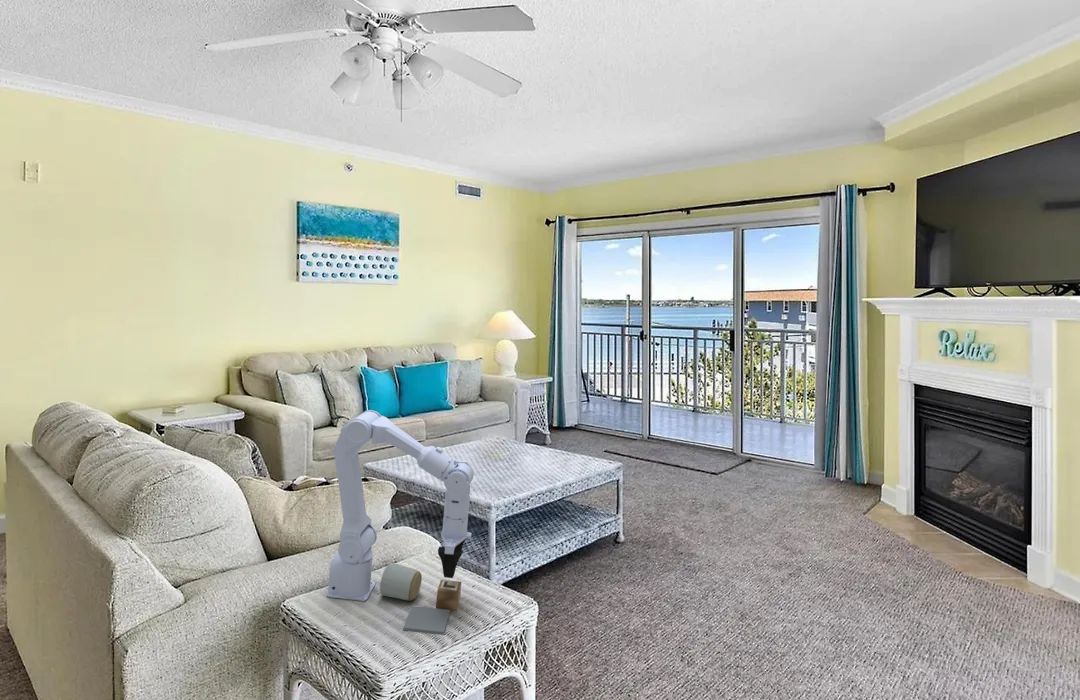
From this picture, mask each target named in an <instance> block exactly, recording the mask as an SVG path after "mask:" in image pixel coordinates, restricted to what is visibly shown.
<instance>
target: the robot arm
mask: <svg viewBox="0 0 1080 700" xmlns="http://www.w3.org/2000/svg"><path fill="white" fill-rule="evenodd" d="M370 440H371V445H377V444H384V443H386V444H387V443H388V444H389V445H391V446H393V447H395V448H396V449H398V450H400V451H402V452H404V453H405V454H407V455H409V456H411V457H413V458H414V459H416V462H417V466H418V467H419V468H420V469H422V470H423V471H425V472H426V473H428V474H430V475H431V476H432V477H434V478H436V479H438V480H439V481H440V482H443V484H444V487H445V489H446V494H445V497H444V498H445V499H444V500H445V501H444V508H443V509H444V510H443V521H442V530H441V534H440V536H441V539H442V541H443V544H444V546H439V547H438V550H437V554H438V556H439V558H440V561H441V565H442V573H443V578H447V579H453V578H454V575H455V573H456V569H457V565H458V562H459V560H460V558H461V557H462V555H463V552H464V550H462V549H463V546H464V544H465V542H466V541H467V539H469V540H470V539H471V538H472V534H473V533H472V532H470V531H468V522H469V511H470V501H471V500H470V499H471V494H470V493H471V485H470V484H471V483H472V481H473V479H474V475H475V474H474V469H473V467H472V466H471V465H470V464H469V463H468V462H467V461H463V460H461V461H460V460H459V459H458V458H455V459H454V458H453V457H451V456H450V455H448V454H446V453H445V452H444V451H443V447H440V446H437V447H435V446H434V445H428V446H424V445H423V444H422V443H420V442H419V441H418V440H416V439H415V438H413V437H412V436H410V435H409V434H408V433H406V431H404V430H403V429H401V428H399V427H398V426H397V425H396V424H394V423H393V422H392V421H391V420H390V419H389V418H388V417H386V416H384V415H381V414H380V413H379V412H378V411H375V410H373V409H369V410H365V411H362V413H361V414H359V415H357V416H356V417H354V418H351V419H349V421H347V422H346V423H345V424H344V425H343V426H342V427H340V433H339V436H338V438H337V441H336V442H335V445H334V447H333V456H334V462H335V469H336V475H337V483H338V491H339V497H340V498H339V499H340V506H341V512H342V513H341V514H342V518H343V522H342V525H341V529H340V533H339V536H340V541H339V545H338V547H337V548H338V549H337V551H338V553H335V554H334V555H333V557H332V559H331V562H330V565H329V571H328V573H329V574H328V586H327V587H328V588H327V589H328V590H327V594H326V597H327V596H328V597H327V598H334V599H342V600H343V599H345V600H352V601H353V600H354V601H362V602H366V601H367V600H368V599H369V597H370V595H371V593H372V592H373V589H374V588H375V586H376V582H371V580H372V568H373V556H374V555H373V550H372V546H373V545H374V544H376V541H377V539H378V534H377V531H376V528H375V527H374V525H373V523H372V519H371V517H370V516H369V515H368V514H367V509H366V502H365V495H364V488H363V487H364V486H363V480H362V479H363V478H362V473H361V466H360V458H359V452H360V450H361V449H362V448H363V447H364V446H365V445H366V444H367V443H368V442H369V441H370Z"/></svg>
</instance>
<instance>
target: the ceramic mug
mask: <svg viewBox="0 0 1080 700" xmlns="http://www.w3.org/2000/svg"><path fill="white" fill-rule="evenodd" d="M422 578H423V575H422V573H421V571H419V570H418V569H415V568H412V567H408V566H405V565H402V564H398V563H395V562H390V563H388V564H387V566H386V567H385V569H384V570H383V574H382V576H381V579H380V583H379V584H380V585H379V592H380V595H382V596H385V597H387V598H388V597H389V598H393V599H399V600H403V601H410V602H411V601H413V600H414V599H416V597H417V596H418V594H419V591H420V588H421V585H422V581H423V579H422Z"/></svg>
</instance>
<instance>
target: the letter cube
mask: <svg viewBox="0 0 1080 700" xmlns="http://www.w3.org/2000/svg"><path fill="white" fill-rule="evenodd" d="M461 590H462V581H457V580H450V579H448V580H447V579H440V581H439V584H438V587H437V591H436V602H435V608H438V609H447V610H450V612H453V611H457V612H458V609H459V606H460V605H459V604H460V602H459V601H460V600H461V593H462V592H461ZM457 608H458V609H457Z"/></svg>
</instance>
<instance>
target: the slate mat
mask: <svg viewBox="0 0 1080 700" xmlns="http://www.w3.org/2000/svg"><path fill="white" fill-rule="evenodd" d="M410 608H411V609H410V610H409V613H408V614H407V618H406V620H405V622H404V625H403V628H402V631H409V632H418V633H424V634H425V633H427V634H436V635H442V636H443V635H444V634H445V631H446V627H447V624H448V621H449V616H450V614H451V611H450V610H447V609H438V608H436V607H429V606H428V607H426V606H417V605H412V606H411V607H410Z"/></svg>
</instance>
